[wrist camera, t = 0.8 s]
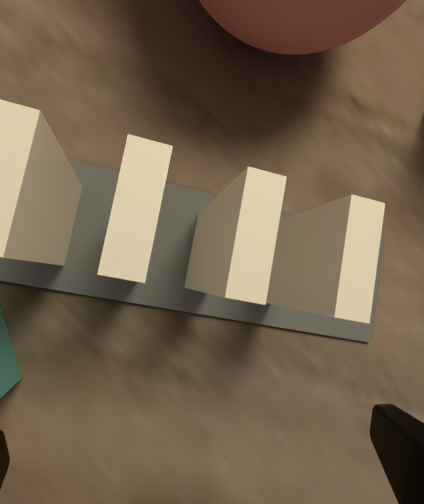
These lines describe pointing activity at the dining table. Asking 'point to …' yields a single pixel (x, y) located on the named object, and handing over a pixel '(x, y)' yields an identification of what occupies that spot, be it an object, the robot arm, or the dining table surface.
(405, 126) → the dining table surface
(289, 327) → the domino mat
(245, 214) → the domino
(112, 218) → the domino
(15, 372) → the teal domino
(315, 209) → the domino
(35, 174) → the domino
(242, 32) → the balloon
